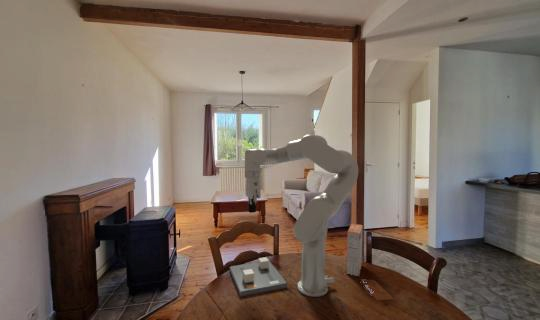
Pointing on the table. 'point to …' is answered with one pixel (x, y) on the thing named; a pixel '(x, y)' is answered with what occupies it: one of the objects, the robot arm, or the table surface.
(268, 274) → the switch panel
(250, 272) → the tab
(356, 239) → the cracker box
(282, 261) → the table surface
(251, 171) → the robot arm
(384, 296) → the table surface
